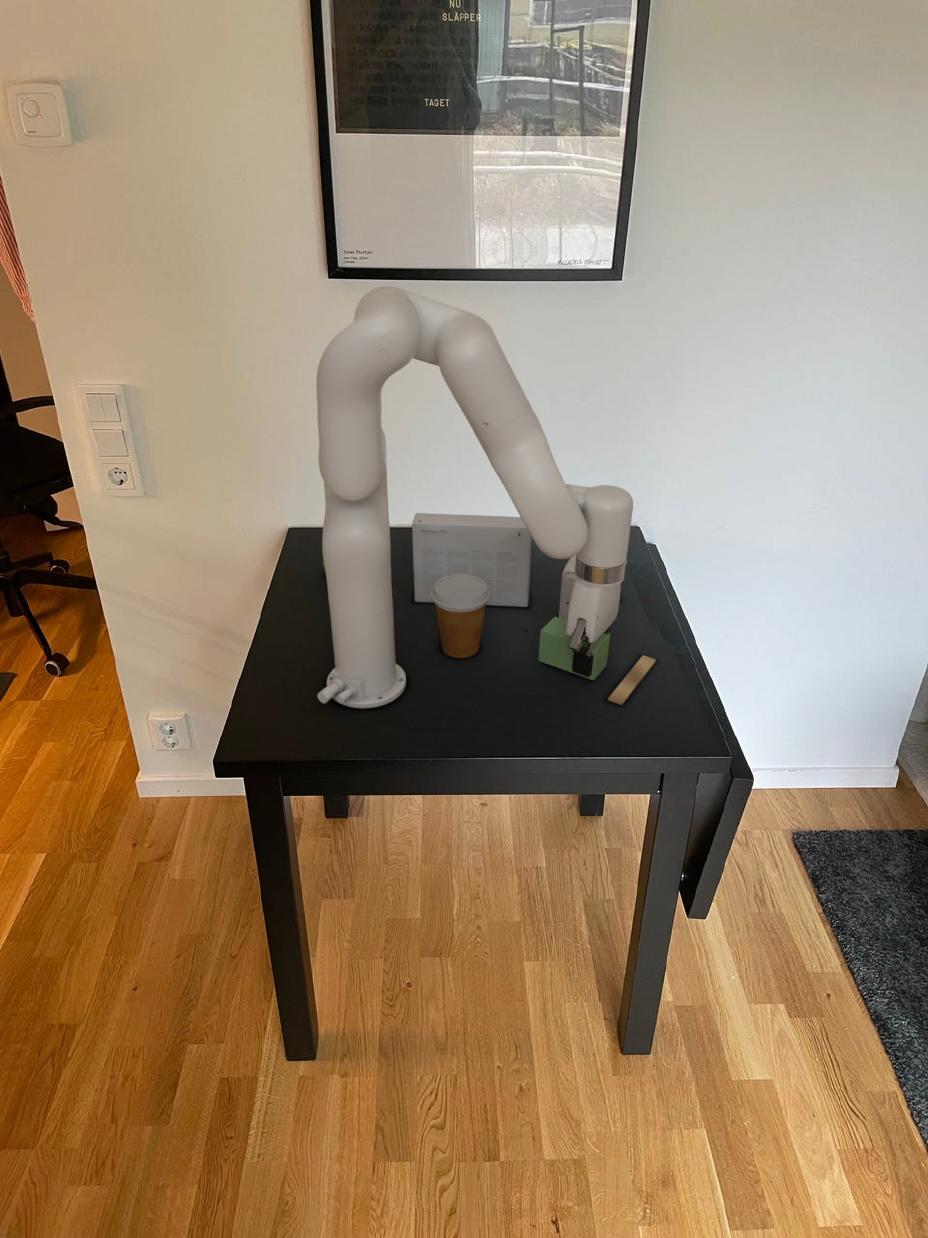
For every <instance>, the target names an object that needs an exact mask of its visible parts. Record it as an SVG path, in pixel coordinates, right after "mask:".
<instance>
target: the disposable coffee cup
mask: <svg viewBox="0 0 928 1238" xmlns="http://www.w3.org/2000/svg"><path fill="white" fill-rule="evenodd" d="M431 594H432V599H433V600H434V606H435V611H436V612H435V613H436V618H437V619H436V620H437V625H438V631H439V637H440V644H441V649H442V651H443V653H444V654H445V655H447V656H449V657H452V658H456V659H465V658H469V657H472V656H474V655H475V654H478V651H479V649H480V643H481V638H482V636H481V635H482V631H483V625H484V618H485V611H486V606H487V605H486V602H487V600H488V599H489V590H488V589H487V586H486V584H485V582H484V581H483V580H482V579H480V578H478V577H476V576H472V575H467V574H453V575H449V576H445V577H443V578H441V579H439V580H438V581H437V582H436V583H435V586H434V588H433V590H432V593H431Z"/></svg>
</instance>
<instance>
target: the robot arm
mask: <svg viewBox="0 0 928 1238" xmlns="http://www.w3.org/2000/svg"><path fill="white" fill-rule="evenodd" d="M413 359H414V360H417V361H420V362H422V363H426V364H430V365H433V366H437V367H439V370H440V374H441V376H442V378H443V380H444V382H445V384H446V386H447V387H448V389H449V391H450V394H451V395H452V396H453V398H454V400H455V402H456V404H457V405H458V407H459V408H460V410H461V412H462V413H463V415H464V417H465V419H466V420H467V422H468V424H469V426H470V427H471V429H472V432H473V433H474V435H475V437H476V439H477V441H478V442H479V444H480V446H481V448H482V449H483V451H484V454H485V455H486V457H487V459H488V462H489V463H490V465H491V467H492V469H493V471H494V472H495V474H496V476H497V477H498V479H499V480H500V482H501V484H502V485H503V487H504V489H505V490H506V493H507V494H508V496H509V498H510V500H511V502H512V504H513V506H514V508H515V509H516V511H517V513H518V515H519V517H521V519H522V520H523V522H524V524H525V526H526V527H527V529H528V531H529V533H530V534H531V539H532V540H533V541H534V543H535V545H536V546H537V548H538V549H539V551H541V552H542V553H543V555H545V556H547V557H548V558H551V559H554V560H566V559H567V560H569V559H570V558H571V557H573V556H575V555H576V563H575V577H576V580H575V583H574V586H573V590H572V594H571V599H570V605H569V611H568V618H567V625H566V634H567V635H568V636H572V635H573V634H574V635H573V638H572V641H571V644H570V647H569V648H570V649H571V650H573V653H574V654H573V665H572V671H573V672H575V673H578V674H581V675H584V676H587V677H590V676H591V674H592V666H593V657H594V655H591V654H592V650H593V645H594V641H596V640H597V639H598V638H599V637H600V636H601V635H602V634H603V633H606V634H609V635H610V636H611V631H612V630H611V629H612V627H611V625H612V624H613V623H614V622H615V620H616V619H617V617H618V612H619V607H620V601H621V590H622V585H621V582H622V583H623V581H624V580H625V573H626V568H627V564H626V559H627V557H628V549H629V544H630V543H629V542H630V533H631V528H632V527H631V526H632V519H633V510H634V500H633V497H632V495H631V494H630V492H629V491H627V490H626V489H625V488H622V487H619V486H615V485H609V484H603V485H602V484H600V485H595V486H591V487H590V486H582V485H575V484H568V483H566V482H565V480H564V477H563V476H562V473H561V472H560V469H559V467H558V464H557V462H556V460H555V458H554V456H553V453H552V451H551V448H550V444H549V442H548V438H547V436H546V434H545V431H544V428H543V427H542V424H541V422H540V421H539V418H538V416H537V414H536V412H535V410H534V409H533V407H532V405H531V402H530V401H529V399H528V397H527V395H526V393H525V392H524V389H523V388H522V386H521V383H520V382H519V380H518V378H517V376H516V374H515V372H514V370H513V368H512V366H511V364H510V362H509V360H508V359H507V357H506V355H505V353H504V350H503V348H502V347H501V345H500V343H499V341H498V339H497V336H496V334H495V332H494V330H493V328H492V326H491V325H490V323H488V322H487V320H485V319H484V318H483V317H481V316H479V315H477V314H474V313H472V312H469V311H467V310H464V309H461V308H459V307H455V306H453V305H449V304H446V303H444V302H440V301H437V300H434V299H431V298H429V297H425V296H423V295H420V294H418V293H414V292H411V291H409V290H406V289H402V288H400V287H394V286H379V287H375V288H373V289H371V290H369V291H368V292H366V293H365V294H364V295H363V296H362V297H361V299H359V302H358V303H357V306H356V307H355V311H354V317H353V322H351V323H350V324H349V325H347V326H346V327H345V328H343V329H342V330H341V331H339V332H338V333H337V334H336V335H335V336H334V337H333V338H332V340H330V342H329V343H328V345H327V346H326V348H325V349H324V351H323V353H322V354H321V357H320V359H319V362H318V366H317V370H316V383H315V384H316V386H315V387H316V405H317V430H318V432H317V433H318V455H317V456H318V457H317V458H318V469H319V472H320V476H321V478H322V480H323V487H324V500H325V501H324V502H325V505H324V506H325V507H324V509H325V511H324V518H323V524H322V525H323V526H322V527H323V528H322V536H321V537H322V538H321V547H322V558H323V559H324V566H325V571H324V572H325V579H326V584H327V585H326V587H327V596H328V606H329V616H330V617H329V618H330V626H331V637H332V648H333V659H334V668H333V669H332V670H331V671H330V672H329V674H328V676H327V678H326V687H324V688H323V689H321V690H320V691H319V692H318V693H317V695H316V696H317V699H318V700H319V702H320V703H322V704H326V703H328V702H329V701H331V699H333V700H334V701H335V702H337V703H339V704H340V705H343V706H347V707H349V708H353V709H371V708H372V709H373V708H378V707H381V706H385V705H387V704H389V703H392V702H394V701H395V700H396V699H398V698H399V697H400V696H401V695H403V692H404V691H405V689H406V687H407V675H406V672H405V670H404V669H403V668H402V666H400V665H398V663H396V643H395V623H394V622H395V621H394V603H393V602H394V601H393V586H392V563H391V561H392V558H391V557H392V553H391V552H392V548H391V531H390V530H391V529H390V527H391V526H390V516H389V515H390V514H389V496H388V470H387V468H388V467H387V466H388V465H387V440H386V439H387V438H386V435H385V432H384V429H383V426H382V409H383V408H382V392H383V391H382V390H383V388H384V385H385V384H386V381H387V380H388V379H389V378H390V377H392V376H393V375H394V374H395V373H397V372H398V371H400V370H402V369H403V368H405V367H406V366H408V364H410V362H411V361H412V360H413ZM625 567H626V568H625ZM585 633H586V634H587V636H586V635H584V634H585ZM582 640H583V641H586V642H588V646H587V648H586V647H585V646H582V645H581V643H582Z"/></svg>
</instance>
